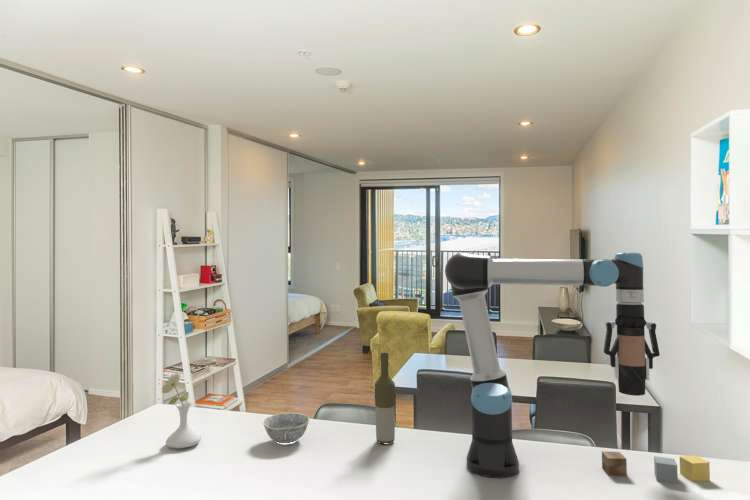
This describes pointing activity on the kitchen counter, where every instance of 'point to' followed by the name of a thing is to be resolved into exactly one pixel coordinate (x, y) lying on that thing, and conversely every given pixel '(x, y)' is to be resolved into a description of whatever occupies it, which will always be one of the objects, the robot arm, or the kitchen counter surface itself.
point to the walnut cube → (614, 463)
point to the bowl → (286, 426)
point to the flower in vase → (184, 433)
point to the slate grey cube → (665, 469)
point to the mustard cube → (694, 468)
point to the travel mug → (631, 360)
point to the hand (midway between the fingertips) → (631, 378)
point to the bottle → (385, 404)
